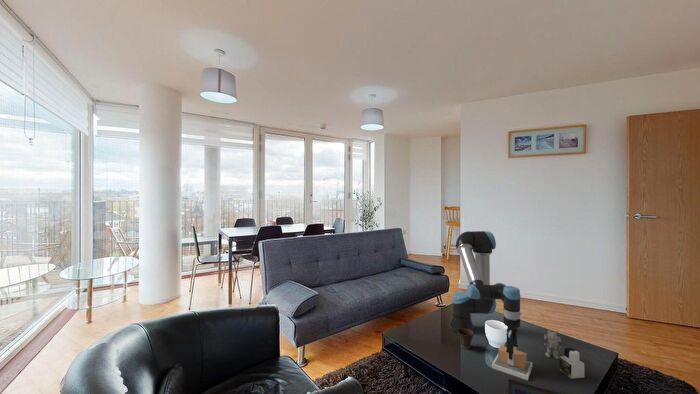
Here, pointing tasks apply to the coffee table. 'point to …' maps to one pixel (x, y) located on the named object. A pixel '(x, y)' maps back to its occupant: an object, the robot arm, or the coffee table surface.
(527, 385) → the coffee table surface
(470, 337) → the cup
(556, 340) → the figurine
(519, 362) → the tan rectangular pillar
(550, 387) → the coffee table surface
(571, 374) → the medicine bottle
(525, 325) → the coffee table surface
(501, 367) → the framed panel
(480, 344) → the coffee table surface
